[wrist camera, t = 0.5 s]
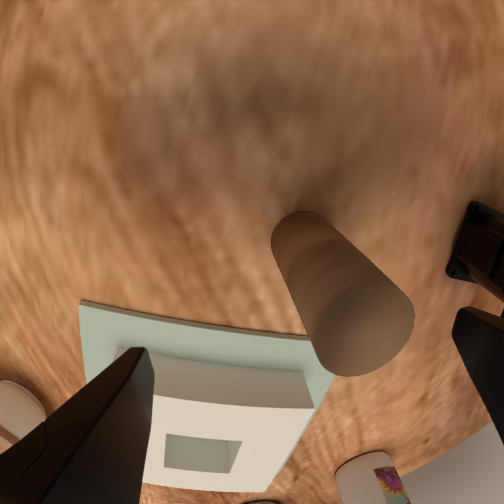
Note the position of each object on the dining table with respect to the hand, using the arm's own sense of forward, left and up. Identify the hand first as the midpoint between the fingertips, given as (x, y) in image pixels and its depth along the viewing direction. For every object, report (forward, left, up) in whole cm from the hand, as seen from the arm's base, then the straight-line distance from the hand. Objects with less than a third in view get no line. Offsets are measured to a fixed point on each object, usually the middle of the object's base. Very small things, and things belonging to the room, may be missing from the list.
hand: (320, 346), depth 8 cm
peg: (-3, +1, -12) cm, 12 cm away
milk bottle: (-21, +29, -12) cm, 38 cm away
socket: (+1, +18, -12) cm, 22 cm away
